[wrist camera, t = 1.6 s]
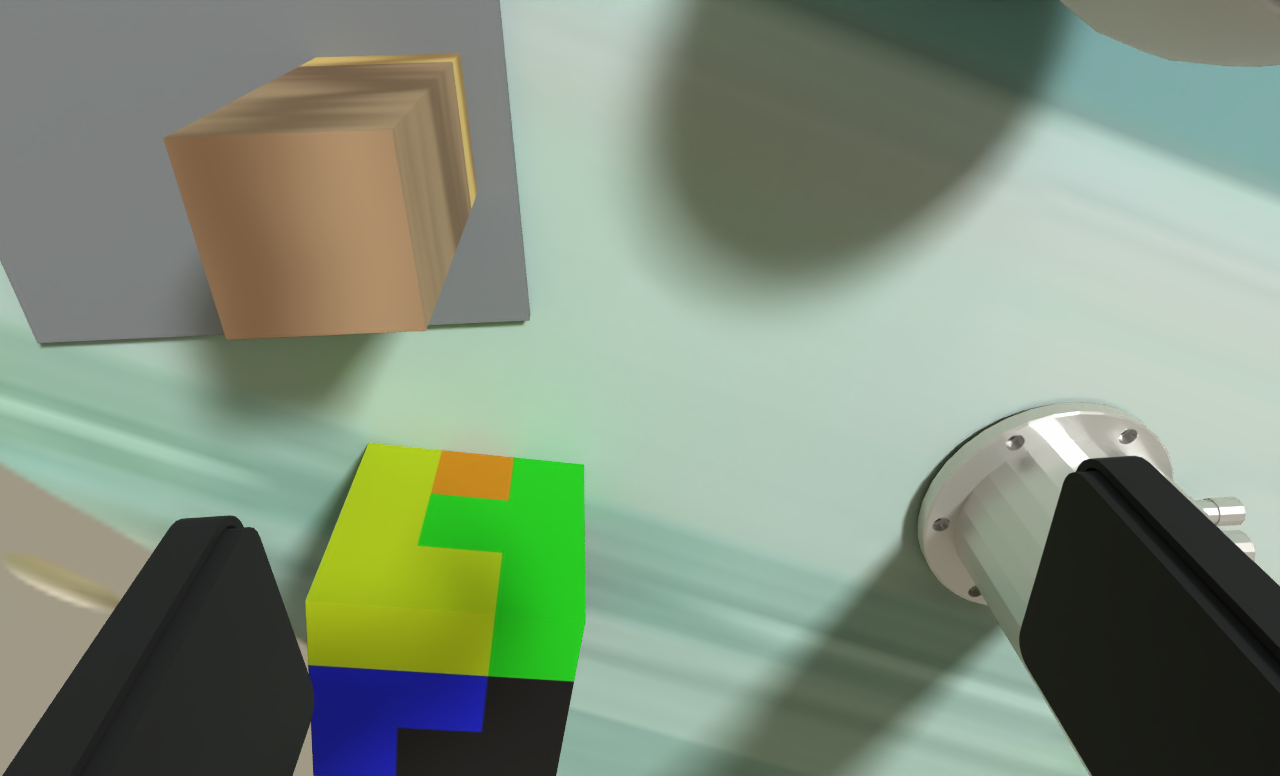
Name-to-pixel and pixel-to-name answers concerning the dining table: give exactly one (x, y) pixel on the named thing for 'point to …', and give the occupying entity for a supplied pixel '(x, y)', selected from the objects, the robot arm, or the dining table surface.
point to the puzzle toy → (448, 616)
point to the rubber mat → (175, 97)
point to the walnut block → (331, 195)
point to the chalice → (1190, 28)
